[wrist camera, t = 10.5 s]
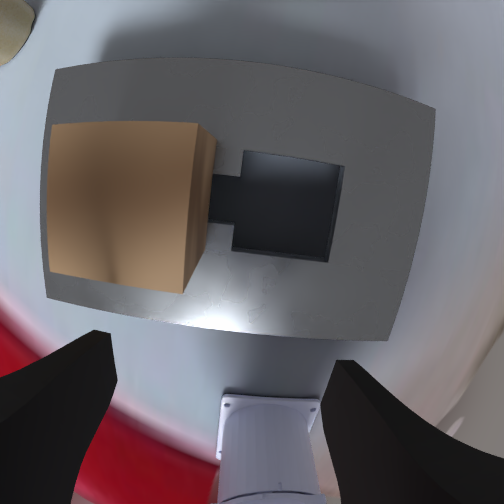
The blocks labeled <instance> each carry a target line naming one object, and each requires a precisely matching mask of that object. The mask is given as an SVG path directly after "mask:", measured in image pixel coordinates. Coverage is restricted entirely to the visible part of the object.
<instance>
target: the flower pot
mask: <svg viewBox="0 0 504 504" xmlns="http://www.w3.org/2000/svg"><path fill="white" fill-rule="evenodd" d="M34 18H35V14H34V10H33V8H32V7H31V6H29V5H28V4H27V3H26V2H25V1H24V0H0V66H1V65H3V64H6V63H8V62H9V61H10V60H11V59H12V58H13V57H14V56H15V55H16V54H17V53H18V51H19V50H20V49H21V47H22V46H23V44H24V43H25V41H26V40H27V38H28V36H29V34H30V32H31V25H32V22H33V20H34Z"/></svg>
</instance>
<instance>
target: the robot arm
mask: <svg viewBox="0 0 504 504" xmlns="http://www.w3.org/2000/svg"><path fill="white" fill-rule="evenodd" d="M117 381H118V380H117V374H116V368H115V362H114V355H113V348H112V341H111V333H106V332H102V331H98V330H93V331H91V332H89V333H87V334H85V335H83V336H81V337H79V338H78V339H76V340H74V341H72V342H71V343H69V344H67V345H65V346H64V347H62V348H60V349H58V350H56V351H55V352H53V353H51V354H49V355H48V356H46V357H44V358H42V359H40V360H38V361H36V362H34V363H32V364H30V365H28V366H26V367H24V368H22V369H20V370H17V371H15V372H13V373H10V374H8V375H5V376H3V377H0V504H71V499H72V495H73V491H74V487H75V483H76V480H77V476H78V473H79V470H80V466H81V463H82V461H83V458H84V456H85V454H86V451H87V449H88V447H89V445H90V443H91V441H92V439H93V437H94V435H95V433H96V431H97V429H98V427H99V425H100V423H101V421H102V419H103V417H104V415H105V413H106V411H107V409H108V407H109V404H110V402H111V399H112V396H113V393H114V390H115V387H116V384H117ZM225 403H229V404H225ZM320 406H321V415H322V422H323V430H324V434H325V437H326V441H327V445H328V448H329V452H330V456H331V459H332V463H333V467H334V470H335V474H336V478H337V481H338V486H339V490H340V497H341V504H504V458H501V457H497V456H494V455H491V454H488V453H485V452H483V451H480V450H478V449H475V448H473V447H471V446H469V445H466V444H464V443H462V442H460V441H458V440H456V439H454V438H452V437H451V436H449V435H447V434H445V433H444V432H442V431H440V430H439V429H437V428H436V427H434V426H432V425H431V424H429V423H428V422H426V421H425V420H424V419H422V418H421V417H420V416H418V415H417V414H416V413H414V412H413V411H412V410H410V409H409V408H408V407H407V406H405V405H404V404H403V403H402V402H400V401H399V400H398V399H397V398H396V397H395V396H393V395H392V394H391V393H390V392H389V391H388V390H387V389H386V388H384V387H383V386H382V385H381V384H380V383H379V382H378V381H377V380H376V379H375V378H373V377H372V376H371V375H370V374H369V373H368V372H367V371H366V370H365V369H364V368H362V367H361V366H360V365H359V364H358V363H357V362H355V361H354V360H336V363H335V366H334V368H333V371H332V374H331V377H330V380H329V382H328V385H327V388H326V390H325V393H324V396H323V398H322V401H321V403H320V401H319V400H318V399H296V398H273V397H257V396H245V395H234V394H224V395H223V396H222V398H221V408H220V418H219V428H218V439H217V449H216V458H217V459H220V460H221V463H220V476H219V489H218V503H217V504H327V503H326V498H325V494H321V492H320V487H319V482H318V477H317V472H316V467H315V462H314V457H313V452H312V447H311V442H310V437H309V433H310V430H311V428H312V425H313V423H314V420H315V418H316V415H317V413H318V410H319V408H320ZM311 408H313V409H311Z"/></svg>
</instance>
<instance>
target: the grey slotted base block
mask: <svg viewBox="0 0 504 504" xmlns="http://www.w3.org/2000/svg"><path fill="white" fill-rule="evenodd" d="M435 111H436V109H434V108H432V107H429V106H427V105H424V104H422V103H419V102H417V101H414V100H411V99H409V98H406V97H403V96H400V95H398V94H395V93H392V92H389V91H386V90H382V89H379V88H376V87H373V86H369V85H366V84H363V83H359V82H355V81H352V80H348V79H344V78H340V77H336V76H332V75H327V74H323V73H318V72H313V71H308V70H303V69H298V68H292V67H286V66H280V65H273V64H266V63H258V62H249V61H239V60H227V59H211V58H144V59H128V60H117V61H107V62H99V63H91V64H84V65H78V66H72V67H66V68H61V69H56V70H55V74H54V79H53V83H52V88H51V93H50V99H49V104H48V110H47V117H46V124H45V131H44V140H43V150H42V163H41V181H40V229H41V247H42V260H43V270H44V279H45V287H46V294H47V298H50V299H54V300H58V301H63V302H67V303H71V304H75V305H80V306H84V307H88V308H93V309H98V310H102V311H107V312H112V313H117V314H122V315H128V316H133V317H138V318H144V319H150V320H156V321H162V322H168V323H174V324H181V325H187V326H194V327H202V328H209V329H217V330H225V331H234V332H243V333H252V334H262V335H273V336H285V337H299V338H314V339H333V340H360V341H388V338H389V335H390V333H391V330H392V327H393V324H394V321H395V318H396V315H397V312H398V309H399V306H400V303H401V300H402V296H403V293H404V290H405V286H406V283H407V279H408V276H409V272H410V268H411V265H412V261H413V257H414V253H415V249H416V244H417V240H418V236H419V231H420V226H421V221H422V216H423V211H424V206H425V200H426V194H427V188H428V182H429V175H430V167H431V159H432V150H433V140H434V127H435ZM103 121H164V122H186V123H198V124H200V125H201V126H202V127H203V128H204V129H205V130H207V131H208V132H209V133H210V134H211V135H212V136H214V137H215V138H216V139H217V144H216V152H215V160H214V168H213V174H221V175H230V176H239V177H240V176H241V168H242V160H243V153H244V151H250V152H258V153H265V154H273V155H279V156H286V157H292V158H299V159H305V160H310V161H316V162H322V163H327V164H332V165H337V166H340V169H339V176H338V183H337V189H336V195H335V201H334V207H333V213H332V219H331V225H330V230H329V236H328V241H327V246H326V251H325V256H324V258H321V257H313V256H305V255H296V254H288V253H280V252H272V251H263V250H255V249H247V248H239V247H232V242H233V233H234V225H235V222H228V221H219V220H211V219H208V223H207V233H206V244H205V251H204V253H203V255H202V257H201V259H200V260H199V262H198V264H197V266H196V268H195V270H194V272H193V274H192V276H191V278H190V280H189V282H188V284H187V286H186V289H185V291H184V293H183V294H177V293H170V292H164V291H157V290H150V289H144V288H138V287H132V286H125V285H119V284H114V283H108V282H102V281H97V280H91V279H86V278H80V277H75V276H70V275H65V274H60V273H55V272H50V267H49V256H48V240H47V174H48V159H49V147H50V138H51V129H52V125H55V124H66V123H81V122H103Z"/></svg>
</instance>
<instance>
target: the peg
mask: <svg viewBox="0 0 504 504" xmlns="http://www.w3.org/2000/svg"><path fill="white" fill-rule="evenodd" d="M216 144H217V139H216V138H215V137H214V136H212V135H211V134H210V133H209V132H208V131H207V130H205V129H204V128H203V127H202V126H201V125H200V124H198V123H186V122H164V121H103V122H81V123H66V124H55V125H52V129H51V138H50V147H49V159H48V174H47V240H48V256H49V267H50V272H55V273H60V274H65V275H70V276H75V277H80V278H86V279H91V280H97V281H102V282H108V283H114V284H119V285H125V286H132V287H138V288H144V289H150V290H157V291H164V292H170V293H177V294H183V293H184V291H185V289H186V286H187V284H188V282H189V280H190V278H191V276H192V274H193V272H194V270H195V268H196V266H197V264H198V262H199V260H200V259H201V257H202V255H203V253H204V251H205V244H206V233H207V223H208V213H209V203H210V194H211V185H212V176H213V168H214V160H215V152H216Z"/></svg>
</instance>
